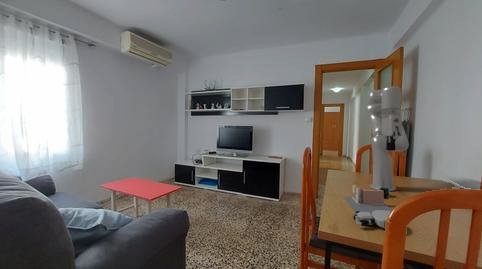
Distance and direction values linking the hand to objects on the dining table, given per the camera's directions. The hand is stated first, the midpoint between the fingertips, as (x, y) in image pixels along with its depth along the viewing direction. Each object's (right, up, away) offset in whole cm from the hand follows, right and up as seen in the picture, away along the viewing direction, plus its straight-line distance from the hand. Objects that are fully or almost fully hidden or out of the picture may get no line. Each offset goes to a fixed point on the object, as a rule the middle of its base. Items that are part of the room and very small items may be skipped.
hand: (390, 150), depth 100 cm
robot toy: (-22, -27, -22) cm, 41 cm away
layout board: (-13, -26, -4) cm, 29 cm away
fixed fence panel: (-15, -25, +2) cm, 30 cm away
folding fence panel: (-11, -25, -3) cm, 27 cm away
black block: (+3, -26, +8) cm, 27 cm away
